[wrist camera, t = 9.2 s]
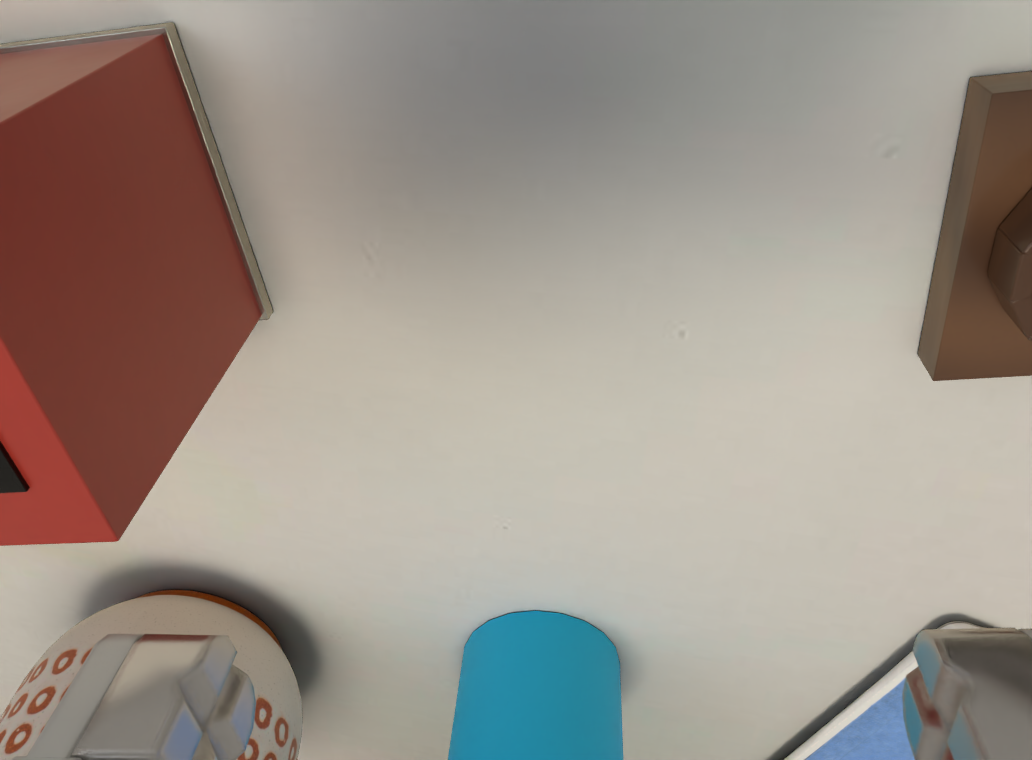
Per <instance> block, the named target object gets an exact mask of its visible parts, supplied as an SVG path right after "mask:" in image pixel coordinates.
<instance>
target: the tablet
mask: <svg viewBox="0 0 1032 760" xmlns="http://www.w3.org/2000/svg"><path fill="white" fill-rule="evenodd" d="M972 628H983V627H980V626H977V625H974V624H971V623H968V622H962V621H954V622H949V623H947V624H944V625H942V626H940V627H939V628H937V629H972ZM917 667H918V664H917V661H916V658H915V656H914V653H913V651H912V652H911V653H910V654H908V655H907V656H906V657H905V658H904V659H903V660H902V661H901V662H899V663H898V664H897V665H896V666H895V667H894V668H893V669H891V670H890V671H889V672H888V673H887V674H886V675H885V676H883V677H882V678H881V679H880V680H879V681H878V682H876V683H875V684H874V685H873V686H872V687H870V688H869V689H868V690H867V691H866V692H864V693H863V694H862V695H861V696H860V697H858V698H857V699H856V700H855V701H854V702H853V703H851V704H850V705H849V706H848V707H847V708H845V709H844V710H843V711H842V712H841V713H839V714H838V715H837V716H836V717H835V718H833V719H832V720H831V721H830V722H829V723H827V724H826V725H825V726H824V727H822V728H821V729H820V730H819V731H818V732H816V733H815V734H814V735H813V736H812V737H810V738H809V739H808V740H807V741H805V742H804V743H803V744H802V745H801V746H799V747H798V748H797V749H796V750H795V751H793V752H792V753H791V754H790V755H789V756H788V757H786V758H785V759H784V760H915V759H914V756H913V753H912V750H911V746H910V743H909V740H908V737H907V732H906V728H905V723H904V719H903V700H902V693H903V688H904V683H905V678H906V675H907V674H908V673H910V672H911V671H913V670H914V669H915V668H917Z"/></svg>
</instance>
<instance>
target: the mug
mask: <svg viewBox="0 0 1032 760" xmlns="http://www.w3.org/2000/svg"><path fill="white" fill-rule="evenodd" d="M448 760H623V739H622V710H621V682H620V661H619V658H618V654H617V651H616V647H615V646H614V645H613V643H612V642H611V641H610V640H609V639H608V638H607V636H606V635H605V634H604V633H603V632H601V631H600V630H598V629H597V628H595V627H593V626H592V625H590V624H589V623H587V622H585V621H583V620H580V619H577V618H574V617H570V616H567V615H564V614H561V613H552V612H542V611H528V612H518V613H510V614H507V615H504V616H501V617H498V618H495V619H492V620H489V621H488V622H486V623H485V624H483V625H482V626H481V627H479V628H478V629H477V630H475V631H474V632H473V633H472V635H471V636H470V638H469V640H468V641H467V643H466V645H465V647H464V654H463V660H462V667H461V674H460V681H459V688H458V694H457V701H456V708H455V715H454V722H453V728H452V735H451V742H450V749H449V756H448Z"/></svg>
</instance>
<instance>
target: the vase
mask: <svg viewBox="0 0 1032 760" xmlns="http://www.w3.org/2000/svg"><path fill="white" fill-rule="evenodd" d="M107 634H184V635H228V636H229V638H230V640H231V641H232V643H233V645H234V647H235V649H236V651H237V654H236V656H235V659H234V661H233V665H235V666H236V667H238V668H239V669H241V670H242V671H243V672H245V673H246V674H248V676H249V678H250V680H251V682H252V684H253V687H254V692H255V699H256V710H255V718H254V726H253V730H252V733H251V736H250V739H249V742H248V745H247V747H246V750H245V752H244V753H243V754H242V755H240V756H239V757H238V758H237V759H236V760H297V757H298V754H299V748H300V742H301V735H302V720H303V717H302V704H301V696H300V691H299V688H298V684H297V680H296V677H295V675H294V672H293V670H292V668H291V665H290V663H289V661H288V659H287V658H286V656H285V654H284V653H283V651H282V648H281V645H280V643H279V641H278V639H277V638H276V636H275V635H274V633H273V632H272V631H271V630H270V628H269V627H268V626H267V625H266V624H265V623H264V622H263V621H261V620H260V619H259V618H258V617H256V616H255V615H254V614H252V613H251V612H249V611H248V610H246V609H244V608H242V607H241V606H239V605H237V604H235V603H232V602H230V601H228V600H225V599H223V598H220V597H217V596H214V595H210V594H206V593H201V592H196V591H189V590H163V591H156V592H152V593H148V594H145V595H142V596H140V597H138V598H136V599H131V600H128V601H124V602H121V603H118V604H116V605H113V606H111V607H108V608H106V609H103V610H101V611H99V612H97V613H95V614H93V615H91V616H90V617H88V618H86V619H84V620H83V621H81V622H79V623H78V624H77V625H75V626H74V627H73V628H71V629H70V630H69V631H67V632H66V633H65V634H64V635H62V636H61V637H60V638H59V639H58V640H57V641H56V642H55V643H54V644H53V645H52V646H51V647H50V648H49V649H48V650H47V651H46V652H45V653H44V654H43V656H42V657H41V658H40V659H39V660H38V662H37V663H36V664H35V665H34V666H33V668H32V669H31V671H30V672H29V673H28V675H27V676H26V678H25V679H24V681H23V682H22V684H21V685H20V687H19V688H18V690H17V692H16V693H15V695H14V696H13V698H12V700H11V701H10V703H9V705H8V706H7V708H6V709H5V711H4V713H3V714H2V716H1V718H0V760H11V759H12V758H14V757H15V756H27V755H28V753H29V751H30V750H31V748H32V747H33V745H34V743H35V742H36V740H37V738H38V737H39V735H40V733H41V732H42V730H43V728H44V727H45V725H46V724H47V722H48V720H49V719H50V717H51V715H52V714H53V712H54V710H55V709H56V707H57V706H58V704H59V702H60V701H61V699H62V697H63V696H64V694H65V692H66V691H67V689H68V688H69V686H70V684H71V683H72V681H73V679H74V678H75V676H76V674H77V673H78V671H79V670H80V668H81V666H82V665H83V663H84V661H85V660H86V658H87V656H88V655H89V653H90V651H91V650H92V648H93V647H94V645H95V644H96V643H97V642H98V641H100V640H101V639H102V638H103V637H105V636H106V635H107Z"/></svg>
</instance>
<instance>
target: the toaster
mask: <svg viewBox="0 0 1032 760" xmlns="http://www.w3.org/2000/svg"><path fill="white" fill-rule="evenodd" d="M272 313H273V310H272V307H271V304H270V301H269V298H268V295H267V292H266V289H265V286H264V283H263V281H262V278H261V275H260V272H259V269H258V266H257V263H256V260H255V257H254V254H253V252H252V249H251V246H250V243H249V240H248V237H247V234H246V231H245V228H244V225H243V223H242V220H241V217H240V214H239V211H238V208H237V205H236V202H235V199H234V196H233V194H232V191H231V188H230V185H229V182H228V179H227V176H226V173H225V170H224V167H223V165H222V162H221V159H220V156H219V153H218V150H217V147H216V144H215V141H214V138H213V136H212V133H211V130H210V127H209V124H208V121H207V118H206V115H205V112H204V109H203V107H202V104H201V101H200V98H199V95H198V92H197V89H196V86H195V83H194V80H193V77H192V75H191V72H190V69H189V66H188V63H187V60H186V57H185V54H184V51H183V48H182V46H181V43H180V40H179V37H178V34H177V31H176V28H175V25H174V23H172V22H170V23H162V24H154V25H146V26H138V27H130V28H123V29H115V30H107V31H99V32H91V33H83V34H75V35H67V36H59V37H52V38H44V39H36V40H28V41H20V42H12V43H4V44H0V546H3V545H31V544H59V543H87V542H115V541H119V539H120V538H121V536H122V535H123V533H124V531H125V530H126V528H127V527H128V525H129V524H130V522H131V520H132V519H133V517H134V516H135V514H136V512H137V511H138V509H139V508H140V506H141V505H142V503H143V501H144V500H145V498H146V497H147V495H148V494H149V492H150V490H151V489H152V487H153V486H154V484H155V483H156V481H157V479H158V478H159V476H160V475H161V473H162V472H163V470H164V468H165V467H166V465H167V464H168V462H169V461H170V459H171V457H172V456H173V454H174V453H175V451H176V450H177V448H178V446H179V445H180V443H181V442H182V440H183V438H184V437H185V435H186V434H187V432H188V431H189V429H190V427H191V426H192V424H193V423H194V421H195V420H196V418H197V416H198V415H199V413H200V412H201V410H202V409H203V407H204V405H205V404H206V402H207V401H208V399H209V398H210V396H211V394H212V393H213V391H214V390H215V388H216V387H217V385H218V383H219V382H220V380H221V379H222V377H223V376H224V374H225V372H226V371H227V369H228V368H229V366H230V365H231V363H232V361H233V360H234V358H235V357H236V355H237V353H238V352H239V350H240V349H241V347H242V346H243V344H244V342H245V341H246V339H247V338H248V336H249V335H250V333H251V331H252V330H253V328H254V327H255V325H256V324H257V322H258V320H267V319H269V318H270V316H271V315H272Z"/></svg>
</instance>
